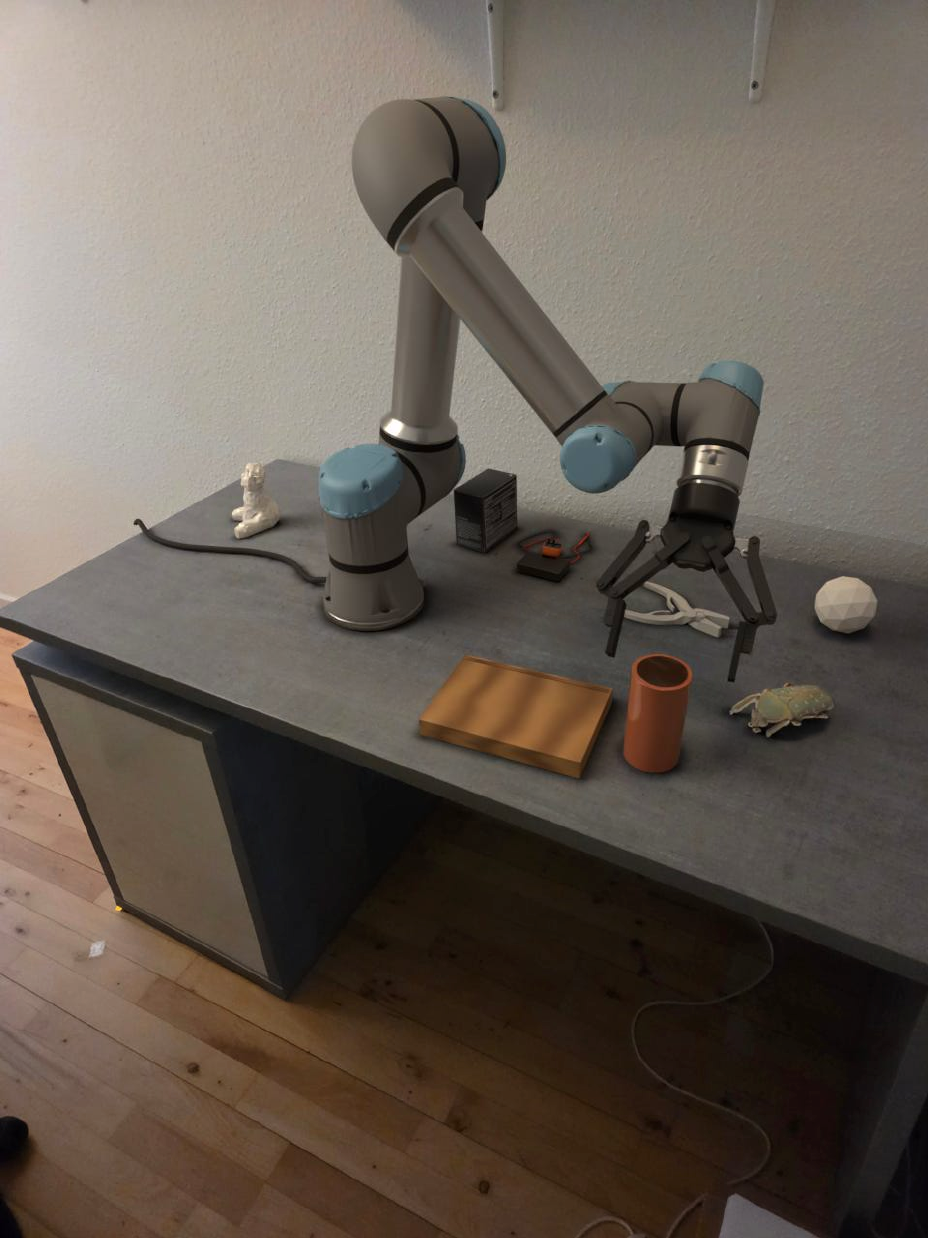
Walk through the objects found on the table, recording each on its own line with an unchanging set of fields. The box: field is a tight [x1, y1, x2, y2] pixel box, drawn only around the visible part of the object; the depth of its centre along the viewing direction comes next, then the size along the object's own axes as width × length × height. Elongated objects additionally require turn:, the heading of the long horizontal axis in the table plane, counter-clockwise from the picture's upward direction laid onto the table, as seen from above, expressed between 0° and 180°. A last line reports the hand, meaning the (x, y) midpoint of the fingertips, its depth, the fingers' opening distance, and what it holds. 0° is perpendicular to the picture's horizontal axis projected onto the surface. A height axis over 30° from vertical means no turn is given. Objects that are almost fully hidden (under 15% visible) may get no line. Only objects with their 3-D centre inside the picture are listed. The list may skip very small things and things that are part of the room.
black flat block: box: [516, 530, 594, 582], centre depth 131 cm, size 18×12×3 cm, turn 145°
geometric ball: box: [814, 575, 878, 634], centre depth 109 cm, size 8×8×8 cm
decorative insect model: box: [728, 682, 835, 738], centre depth 95 cm, size 9×11×5 cm
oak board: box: [418, 654, 614, 779], centre depth 97 cm, size 20×14×3 cm
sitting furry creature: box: [231, 461, 281, 540], centre depth 141 cm, size 10×9×12 cm
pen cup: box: [622, 653, 693, 774], centre depth 88 cm, size 6×6×12 cm
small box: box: [452, 467, 519, 554], centre depth 134 cm, size 11×6×10 cm, turn 144°
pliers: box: [624, 581, 731, 638], centre depth 115 cm, size 10×2×15 cm
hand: (668, 667), depth 89 cm, fingers open, 13 cm apart
